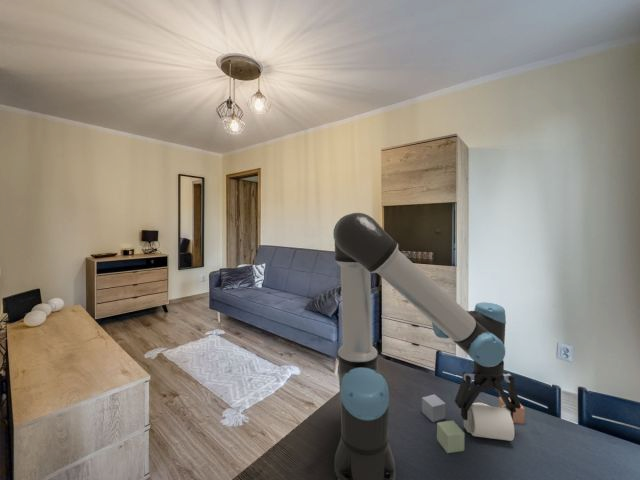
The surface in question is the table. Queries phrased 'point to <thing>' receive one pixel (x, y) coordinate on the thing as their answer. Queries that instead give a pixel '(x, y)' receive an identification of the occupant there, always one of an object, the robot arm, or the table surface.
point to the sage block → (450, 436)
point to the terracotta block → (518, 415)
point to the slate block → (433, 408)
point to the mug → (491, 422)
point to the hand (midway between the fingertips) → (486, 429)
